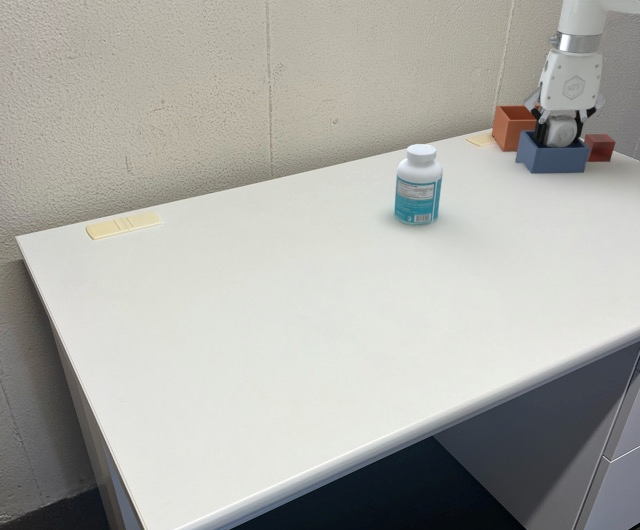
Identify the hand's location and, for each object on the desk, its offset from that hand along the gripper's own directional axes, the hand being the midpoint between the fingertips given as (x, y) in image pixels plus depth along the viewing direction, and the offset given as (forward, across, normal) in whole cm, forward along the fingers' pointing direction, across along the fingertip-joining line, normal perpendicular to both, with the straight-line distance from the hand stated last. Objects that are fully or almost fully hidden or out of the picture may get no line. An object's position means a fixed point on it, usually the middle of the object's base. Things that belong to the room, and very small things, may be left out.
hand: (555, 140), depth 119 cm
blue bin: (+6, 0, 0) cm, 6 cm away
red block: (+6, +12, +6) cm, 15 cm away
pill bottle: (+6, -30, -22) cm, 38 cm away
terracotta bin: (+6, -1, +16) cm, 17 cm away
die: (+1, 0, 0) cm, 1 cm away
